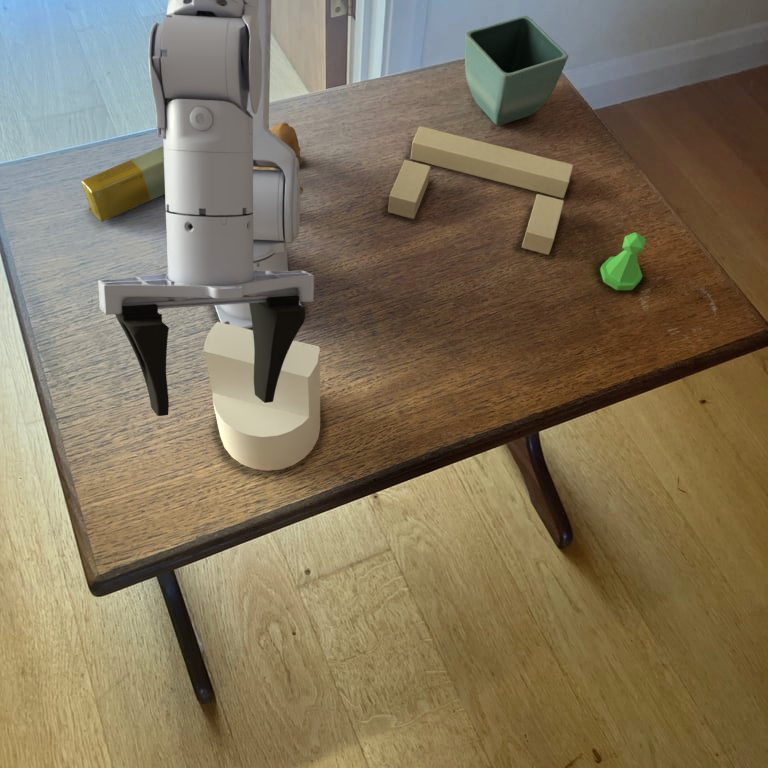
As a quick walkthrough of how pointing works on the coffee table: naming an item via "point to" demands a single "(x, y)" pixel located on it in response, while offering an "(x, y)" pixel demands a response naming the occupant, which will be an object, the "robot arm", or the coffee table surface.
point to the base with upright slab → (249, 413)
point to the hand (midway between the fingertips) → (213, 404)
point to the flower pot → (512, 68)
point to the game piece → (624, 264)
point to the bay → (487, 165)
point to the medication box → (126, 185)
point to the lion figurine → (289, 138)
